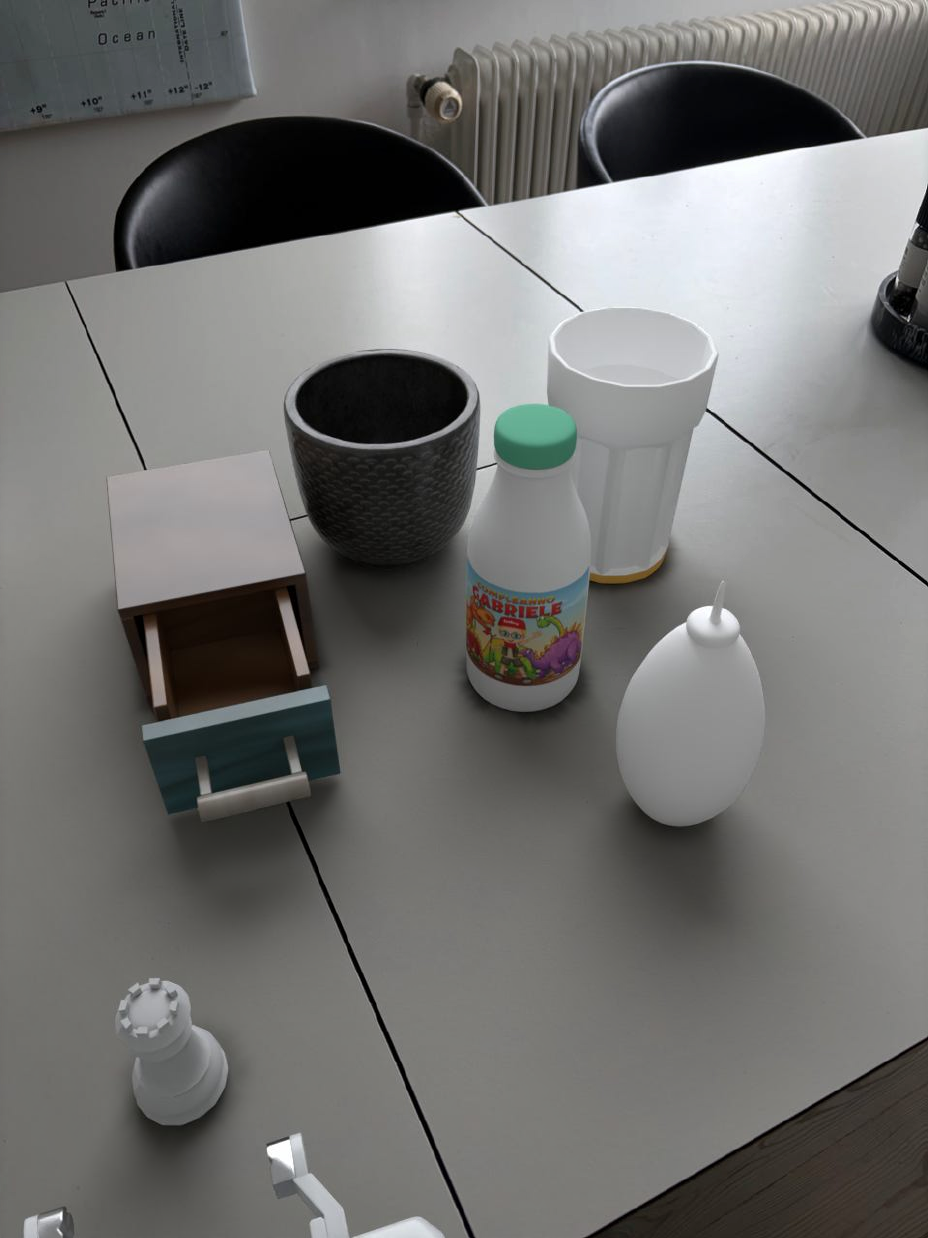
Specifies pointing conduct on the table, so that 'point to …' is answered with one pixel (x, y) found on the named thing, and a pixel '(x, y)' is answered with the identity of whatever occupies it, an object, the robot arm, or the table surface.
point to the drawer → (234, 707)
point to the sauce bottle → (692, 720)
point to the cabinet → (202, 543)
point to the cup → (630, 425)
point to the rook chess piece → (169, 1054)
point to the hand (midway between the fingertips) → (170, 1178)
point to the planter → (384, 452)
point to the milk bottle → (528, 565)
